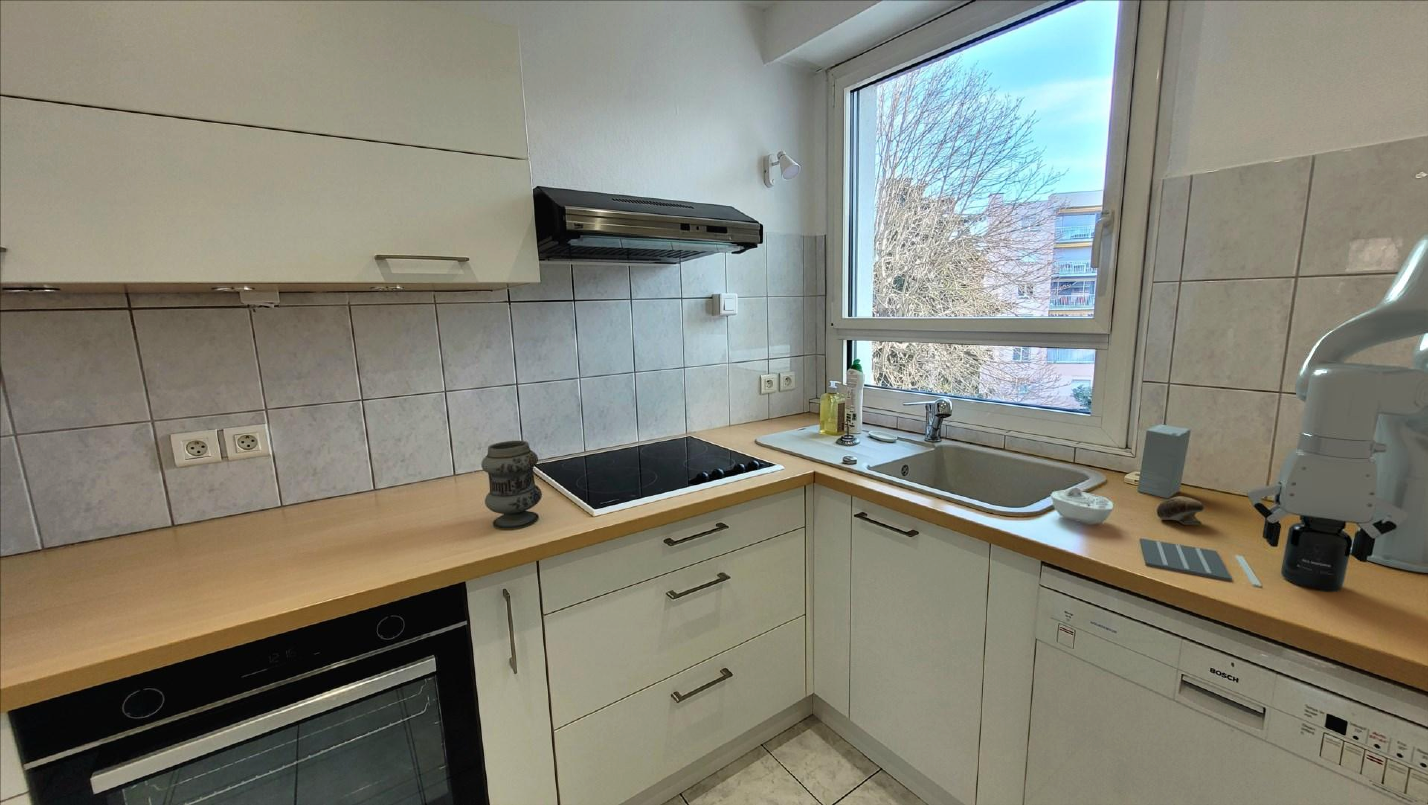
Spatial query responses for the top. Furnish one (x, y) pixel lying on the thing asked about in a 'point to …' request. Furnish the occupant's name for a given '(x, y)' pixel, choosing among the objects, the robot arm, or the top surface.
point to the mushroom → (1180, 510)
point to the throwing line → (1248, 571)
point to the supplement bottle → (1317, 554)
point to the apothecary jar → (511, 484)
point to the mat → (1184, 559)
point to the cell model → (1081, 506)
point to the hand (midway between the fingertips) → (1313, 551)
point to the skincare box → (1163, 460)
